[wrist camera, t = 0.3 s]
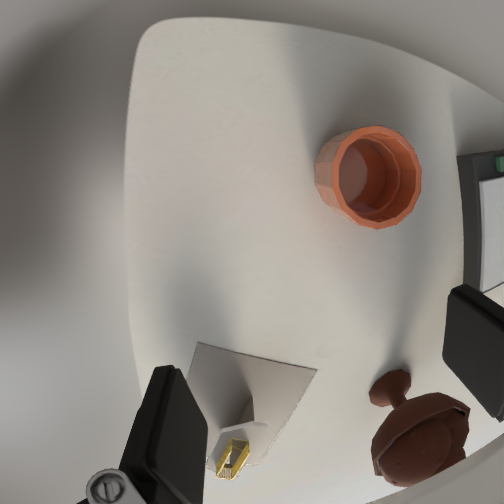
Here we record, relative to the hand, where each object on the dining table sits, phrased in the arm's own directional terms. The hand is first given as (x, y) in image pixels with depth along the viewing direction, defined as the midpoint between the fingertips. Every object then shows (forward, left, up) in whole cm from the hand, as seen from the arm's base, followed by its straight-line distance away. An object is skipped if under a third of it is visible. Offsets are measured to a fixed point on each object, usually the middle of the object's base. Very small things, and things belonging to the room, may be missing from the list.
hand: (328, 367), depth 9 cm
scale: (+3, +25, -16) cm, 30 cm away
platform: (+18, -9, -16) cm, 25 cm away
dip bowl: (-4, +7, -16) cm, 18 cm away
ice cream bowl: (+20, +9, -16) cm, 27 cm away
